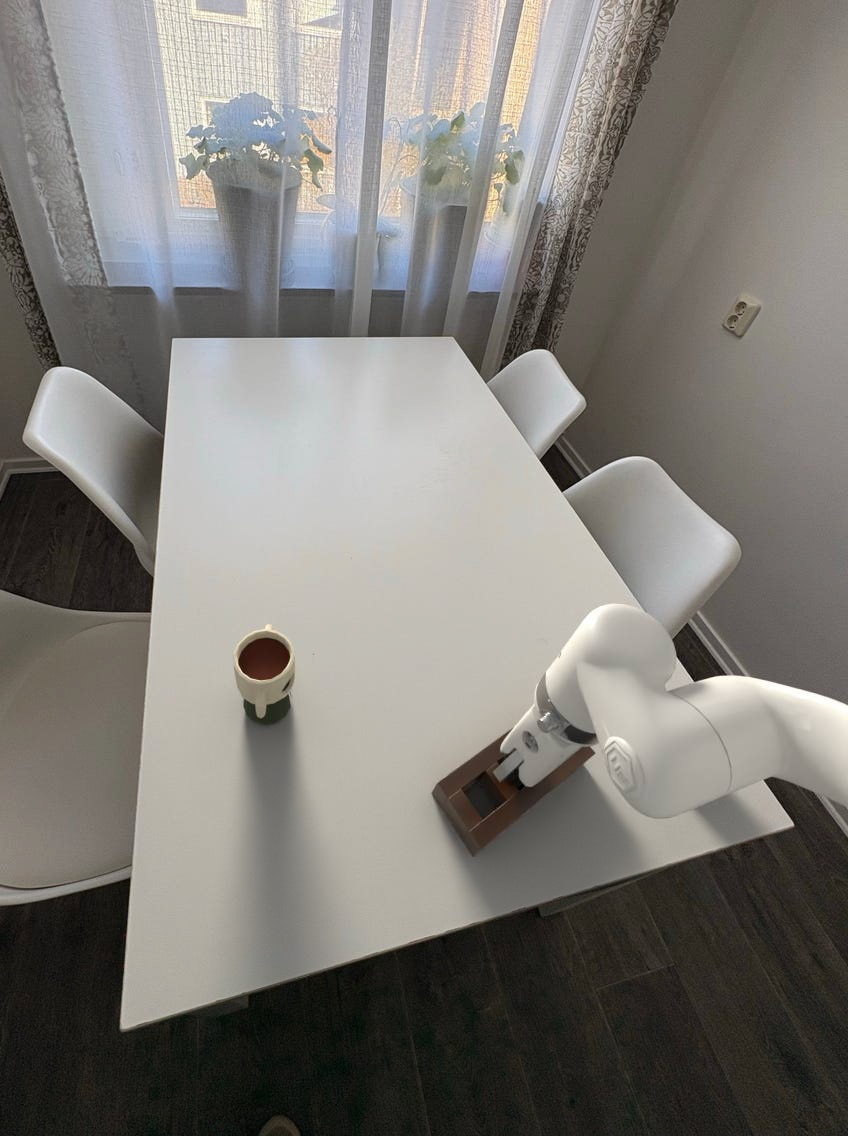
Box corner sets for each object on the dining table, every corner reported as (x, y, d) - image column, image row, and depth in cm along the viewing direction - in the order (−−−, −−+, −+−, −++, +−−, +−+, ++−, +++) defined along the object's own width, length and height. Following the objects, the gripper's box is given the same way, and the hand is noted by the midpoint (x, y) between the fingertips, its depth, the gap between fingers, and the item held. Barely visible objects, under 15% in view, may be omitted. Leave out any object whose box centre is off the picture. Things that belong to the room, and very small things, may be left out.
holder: (583, 764, 69) (596, 753, 66) (472, 857, 60) (481, 849, 58) (540, 712, 73) (550, 700, 71) (431, 792, 65) (437, 782, 62)
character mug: (291, 745, 67) (291, 701, 58) (234, 745, 66) (225, 700, 57) (297, 665, 75) (298, 615, 66) (246, 664, 74) (239, 613, 65)
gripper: (547, 785, 45) (490, 837, 58) (660, 692, 53) (587, 757, 66) (489, 710, 49) (448, 774, 62) (601, 633, 57) (543, 705, 70)
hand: (520, 765), depth 64 cm, fingers closed on peg, 3 cm apart
